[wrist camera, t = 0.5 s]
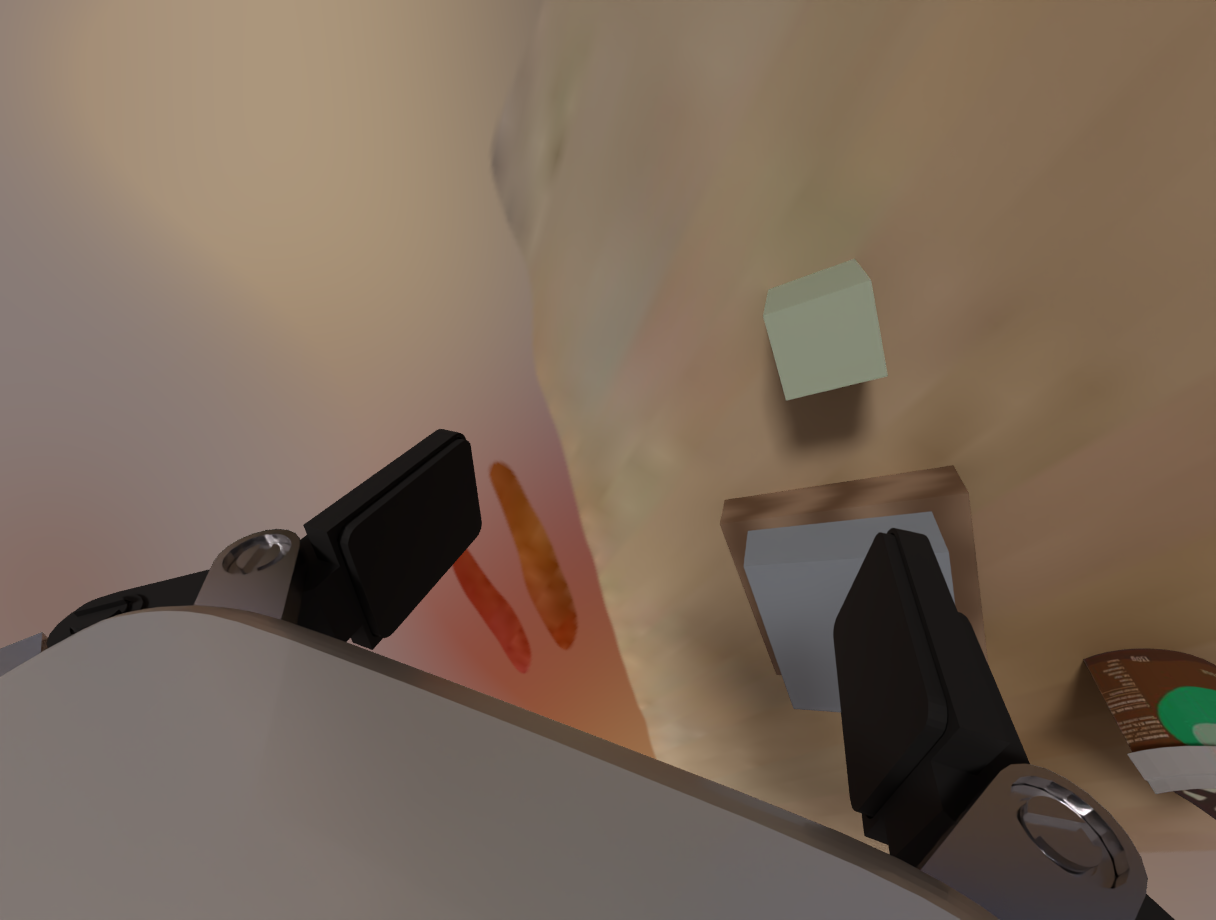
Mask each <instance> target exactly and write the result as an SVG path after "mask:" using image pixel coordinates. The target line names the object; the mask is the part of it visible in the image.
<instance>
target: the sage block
mask: <svg viewBox="0 0 1216 920" xmlns="http://www.w3.org/2000/svg"><path fill="white" fill-rule="evenodd" d="M763 317H764V321H765V325H766V328H767V332H768V336H769V339H770V343H771V347H772V350H773V354H774V358H775V362H776V365H777V369H778V373H779V376H780V380H781V384H782V387H783V391H784V395H785V398H786V401H787V400H791V399H795V398H799V397H803V396H807V395H812V394H816V393H820V392H824V391H828V390H832V389H836V388H841V387H845V386H849V385H853V384H857V383H861V382H865V381H870V380H874V379H878V378H882V377H886V376H888V375H887V369H886V363H885V357H884V352H883V346H882V340H881V334H880V329H879V323H878V317H877V311H876V306H875V300H874V294H873V288H872V283H871V279H870V278H869V277H868V275H867V274H866V273H865V272H864V270H863V269H862V268H861V266H860V265H859V264H858V263H857V261H856V260H855V259H853V260H850V261H847V262H844V263H841V264H839V265H836V266H833V267H830V268H827V269H825V270H822V271H819V272H816V273H813V274H811V275H808V276H805V277H802V278H800V279H797V280H794V281H791V282H788V283H786V284H783V285H780V286H777V287H774V288H772V289H769V290H768V294H767V299H766V304H765V309H764V314H763Z"/></svg>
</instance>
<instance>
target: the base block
mask: <svg viewBox="0 0 1216 920" xmlns="http://www.w3.org/2000/svg"><path fill="white" fill-rule="evenodd" d="M931 511H932V513H933V516H934V518H935V520H936V523H937V525H938V528H939V530H940V532H941V535H942V537H943V539H944V542H945V544H946V547H947V549H948V551H949V558H950V566H951V575H952V583H953V591H954V599H955V606H956V608H957V611H958V612H961V613H962V614H964V615H965V616H966V617H967V618H968V620H969V621H970V623H971V625H972V627H973V630H974V632H975V634H976V637H977V639H978V642H979V644H980V646H981V649H982V651H983V654H984V656H985V658H986V661H987V663H988V659H987V650H986V642H985V633H984V624H983V615H982V606H981V598H980V589H979V580H978V571H977V562H976V553H975V545H974V536H973V527H972V518H971V509H970V500H969V493H968V491H967V489H966V487H965V485H964V484H963V482H962V480H961V478H960V477H959V475H958V473H957V471H956V469H955V468H954V466H946V467H940V468H933V469H927V470H920V471H913V472H907V473H900V474H894V475H887V476H880V477H874V478H867V479H861V480H854V481H847V482H841V483H834V484H828V485H821V486H814V487H808V488H801V489H795V490H788V491H781V492H775V493H768V494H762V495H755V496H748V497H742V498H735V499H728V500H725V502H724V507H723V512H722V517H721V521H720V526H721V528H722V531H723V534H724V536H725V539H726V542H727V544H728V547H729V550H730V552H731V555H732V558H733V560H734V563H735V566H736V568H737V571H738V573H739V576H740V579H741V581H742V584H743V587H744V589H745V592H746V595H747V597H748V600H749V603H750V605H751V608H752V611H753V613H754V616H755V619H756V621H757V624H758V627H759V629H760V632H761V635H762V637H763V640H764V643H765V645H766V648H767V651H768V653H769V656H770V658H771V661H772V664H773V666H774V669H775V672H776V674H777V675H782V674H781V671H780V668H779V666H778V663H777V660H776V657H775V654H774V651H773V648H772V646H771V643H770V640H769V637H768V634H767V631H766V629H765V626H764V623H763V620H762V617H761V614H760V612H759V609H758V606H757V603H756V600H755V597H754V595H753V592H752V589H751V586H750V583H749V580H748V578H747V575H746V572H745V569H744V558H745V550H746V542H747V534H748V531H752V530H761V529H771V528H780V527H790V526H799V525H808V524H818V523H827V522H837V521H846V520H856V519H865V518H874V517H884V516H893V515H903V514H912V513H921V512H931Z"/></svg>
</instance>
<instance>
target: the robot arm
mask: <svg viewBox="0 0 1216 920" xmlns="http://www.w3.org/2000/svg"><path fill="white" fill-rule="evenodd" d="M481 525H482V521H481V514H480V507H479V500H478V493H477V486H476V479H475V472H474V465H473V459H472V452H471V446H470V443H469V441H467V440H466V438H465V436H464V435H463V434H461V433H458V432H453V431H448V430H444V429H439V430H437V431H435V432H434V433H432V434H431V435H429V436H428V437H426V438H425V439H424V440H422V441H421V442H419V443H418V444H417V445H415V446H414V447H412V448H411V449H410V450H408V451H407V452H405V453H404V454H403V455H401V456H400V457H398V458H397V459H396V460H394V461H393V462H391V463H390V464H388V465H387V466H386V467H384V468H383V469H381V470H380V471H379V472H377V473H376V474H374V475H373V476H372V477H370V478H369V479H367V480H366V481H365V482H363V483H362V484H360V485H359V486H358V487H356V488H355V489H353V490H352V491H350V492H349V493H348V494H346V495H345V496H343V497H342V498H341V499H339V500H338V501H336V502H335V503H334V504H332V505H331V506H329V507H328V508H327V509H325V510H324V511H322V512H321V513H320V514H318V515H317V516H315V517H314V518H312V519H311V520H310V521H308V522H307V523H305V524H304V528H305V530H306V533H307V535H306V536H305V537H304V538H302V539H301V540H300V538H299V537H298V536H297V534H296V533H294V532H292V531H289V530H284V529H272V530H265V531H261V532H257V533H253V534H251V535H248V536H246V537H243V538H241V539H239V540H237V541H236V542H234V543H232V544H231V545H229V546H227V547H226V548H225V549H224V550H223V551H222V552H221V553H220V554H219V555H218V556H217V558H216V559H215V560H214V562H213V564H212V566H211V568H210V570H206V571H202V572H198V573H193V574H189V575H185V576H181V577H177V578H173V579H169V580H165V581H161V582H157V583H153V584H148V585H145V586H140V587H136V588H132V589H128V590H124V591H120V592H116V593H113V594H110V595H107V596H104V597H100V598H97V599H95V600H92V601H90V602H88V603H86V604H84V605H83V606H81V607H79V608H78V609H77V610H76V611H74V612H73V613H71V614H70V615H68V616H67V617H66V618H65V619H64V620H62V621H61V622H60V623H59V624H58V625H57V626H56V627H55V628H54V630H53V631H52V632H51V633H50V635H49V637H47V636H46V635H45V634H44V633H43V632H41V633H39V634H36V635H34V636H31V637H29V638H26V639H24V640H21V641H18V642H16V643H13V644H11V645H8V646H6V647H3V648H1V649H0V920H1174V919H1173V918H1172V917H1171V916H1170V915H1169V914H1168V913H1167V912H1166V911H1165V910H1163V909H1162V908H1161V907H1160V906H1159V905H1158V904H1157V903H1156V902H1155V901H1154V900H1153V899H1151V898H1150V897H1149V896H1148V895H1147V894H1146V889H1147V880H1148V878H1147V874H1146V871H1145V868H1144V865H1143V862H1142V858H1141V856H1140V854H1139V853H1138V851H1137V849H1136V848H1135V846H1134V844H1133V843H1132V841H1131V839H1130V838H1129V836H1128V834H1127V833H1126V832H1125V831H1124V830H1123V828H1122V827H1121V826H1120V825H1119V824H1118V822H1117V821H1116V820H1115V819H1114V818H1113V816H1112V815H1111V814H1110V813H1109V812H1108V811H1107V810H1106V809H1105V808H1104V807H1102V806H1101V805H1100V804H1099V803H1098V802H1097V801H1096V800H1095V799H1094V798H1092V797H1091V796H1090V795H1089V794H1088V793H1087V792H1085V791H1084V790H1082V789H1081V788H1079V787H1078V786H1076V785H1075V784H1073V783H1072V782H1071V781H1069V780H1068V779H1066V778H1064V777H1062V776H1060V775H1058V774H1056V773H1054V772H1052V771H1050V770H1047V769H1045V768H1042V767H1038V766H1034V765H1030V763H1029V761H1028V758H1027V756H1026V754H1025V751H1024V749H1023V746H1022V744H1021V742H1020V739H1019V737H1018V735H1017V732H1016V730H1015V727H1014V725H1013V723H1012V720H1011V718H1010V715H1009V713H1008V711H1007V708H1006V706H1005V704H1004V701H1003V699H1002V696H1001V694H1000V692H999V689H998V687H997V684H996V682H995V680H994V677H993V675H992V673H991V670H990V668H989V665H988V663H987V661H986V658H985V656H984V654H983V651H982V649H981V646H980V644H979V642H978V639H977V637H976V634H975V632H974V630H973V627H972V625H971V623H970V621H969V620H968V618H967V617H966V616H965V615H964V614H962V613H961V612H958V611H957V608H956V606H955V603H954V601H953V598H952V596H951V593H950V591H949V588H948V586H947V583H946V581H945V578H944V576H943V573H942V571H941V568H940V566H939V563H938V561H937V558H936V556H935V554H934V551H933V549H932V546H931V544H930V541H929V539H928V537H927V536H926V535H924V534H920V533H916V532H911V531H907V530H902V529H897V528H891V529H890V530H889V531H888V532H887V534H886V533H882V532H879V533H878V534H877V535H876V536H875V538H874V540H873V542H872V544H871V546H870V549H869V551H868V553H867V555H866V557H865V559H864V561H863V563H862V565H861V567H860V569H859V572H858V574H857V576H856V578H855V580H854V582H853V584H852V586H851V588H850V590H849V592H848V595H847V597H846V599H845V601H844V603H843V605H842V607H841V609H840V611H839V613H838V615H837V617H836V620H835V623H834V629H833V640H834V649H835V659H836V669H837V678H838V688H839V697H840V707H841V716H842V726H843V736H844V745H845V755H846V764H847V774H848V783H849V793H850V801H851V805H852V808H853V809H854V811H857V812H859V813H862V820H863V828H864V836H866V837H869V838H871V839H874V840H877V841H879V842H882V843H885V844H887V845H888V846H889V852H890V855H889V854H887V853H885V852H883V851H880V850H878V849H876V848H874V847H872V846H869V845H867V844H865V843H863V842H861V841H858V840H856V839H854V838H852V837H850V836H847V835H845V834H843V833H841V832H838V831H836V830H833V829H831V828H828V827H826V826H823V825H821V824H818V823H816V822H813V821H811V820H808V819H806V818H803V817H801V816H799V815H796V814H794V813H791V812H789V811H786V810H784V809H781V808H779V807H776V806H774V805H771V804H769V803H766V802H764V801H761V800H759V799H756V798H754V797H751V796H749V795H747V794H744V793H742V792H739V791H737V790H734V789H731V788H729V787H726V786H724V785H721V784H718V783H716V782H713V781H711V780H708V779H705V778H703V777H700V776H698V775H695V774H692V773H690V772H687V771H685V770H682V769H680V768H677V767H674V766H672V765H669V764H667V763H664V762H661V761H659V760H656V759H654V758H651V757H648V756H646V755H643V754H641V753H638V752H635V751H633V750H630V749H628V748H625V747H622V746H619V745H617V744H614V743H612V742H609V741H607V740H604V739H602V738H599V737H596V736H593V735H591V734H589V733H586V732H583V731H581V730H578V729H575V728H573V727H570V726H568V725H565V724H562V723H560V722H557V721H554V720H552V719H549V718H546V717H544V716H541V715H539V714H536V713H533V712H530V711H528V710H525V709H523V708H520V707H517V706H515V705H512V704H510V703H507V702H504V701H502V700H499V699H496V698H494V697H491V696H488V695H486V694H483V693H480V692H478V691H475V690H472V689H470V688H467V687H465V686H462V685H459V684H457V683H454V682H451V681H449V680H446V679H443V678H441V677H438V676H435V675H433V674H430V673H427V672H424V671H422V670H419V669H416V668H414V667H411V666H408V665H406V664H403V663H400V662H398V661H395V660H392V659H390V658H387V657H384V656H381V655H379V654H376V653H374V652H371V651H368V650H366V649H363V648H360V647H358V646H355V645H352V644H349V643H347V641H348V640H349V638H351V639H352V642H353V643H356V644H358V645H361V646H363V647H366V648H369V649H371V650H373V649H374V648H375V646H376V645H377V644H378V643H379V642H380V641H381V640H382V638H386V637H389V636H390V635H391V634H392V633H393V632H394V631H395V630H396V629H397V628H398V627H399V626H400V624H401V623H402V622H403V621H404V620H405V619H406V618H407V617H408V615H409V614H410V613H411V612H412V610H414V608H415V607H416V606H417V605H418V604H419V603H420V601H421V600H422V599H423V598H424V597H425V596H426V595H427V594H428V592H429V591H430V590H431V589H432V588H433V587H434V586H435V584H436V583H437V582H438V581H439V579H441V577H442V576H443V575H444V574H445V573H446V572H447V571H448V569H449V568H450V567H451V566H452V565H453V564H454V563H455V561H456V560H457V559H458V558H459V557H460V556H461V555H462V553H463V552H464V551H465V550H466V549H467V548H468V546H469V545H470V544H471V543H472V542H473V540H475V538H476V537H477V536H478V535H479V532H480V530H481Z"/></svg>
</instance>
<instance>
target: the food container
mask: <svg viewBox="0 0 1216 920" xmlns="http://www.w3.org/2000/svg"><path fill="white" fill-rule="evenodd" d="M1083 660H1084V662H1085V664H1086V666H1087V668H1088V669H1089V671H1090V673H1091V675H1092V677H1093V679H1094V681H1095V683H1096V684H1097V686H1098V688H1099V690H1100V692H1101V694H1102V696H1103V698H1104V699H1105V701H1106V703H1107V705H1108V707H1109V709H1110V711H1111V713H1112V715H1113V716H1114V718H1115V720H1116V722H1117V724H1118V726H1119V728H1120V730H1121V731H1122V733H1123V735H1124V737H1125V739H1126V741H1127V743H1128V745H1129V747H1130V748H1131V750H1132V752H1133V753H1129V754H1128V756H1129V757H1130V759H1131V760H1132V762H1133V763H1134V765H1135V766H1136V768H1137V769H1138V771H1139V772H1140V773H1141V775H1142V776H1143V778H1144V779H1145V780H1146V781H1148V782H1149V784H1150V786H1151V787H1152V789H1153V791H1154V792H1155V793H1156V794H1158V793H1164V792H1170V791H1173V792H1175V793H1177V794H1178V795H1180V796H1182V797H1183V798H1185V799H1186V800H1188V801H1190V802H1191V803H1193V804H1194V805H1196V806H1197V807H1199V808H1200V809H1202V810H1203V811H1204V812H1206V813H1207V814H1209V815H1210V816H1211V817H1213V818H1214V819H1216V666H1215V665H1214V664H1212V663H1210V662H1208V661H1206V660H1204V659H1202V658H1199V657H1196V656H1193V655H1190V654H1186V653H1181V652H1177V651H1170V650H1163V649H1126V650H1117V651H1111V652H1106V653H1102V654H1098V655H1094V656H1092V657H1089V658H1086V659H1083Z"/></svg>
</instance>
